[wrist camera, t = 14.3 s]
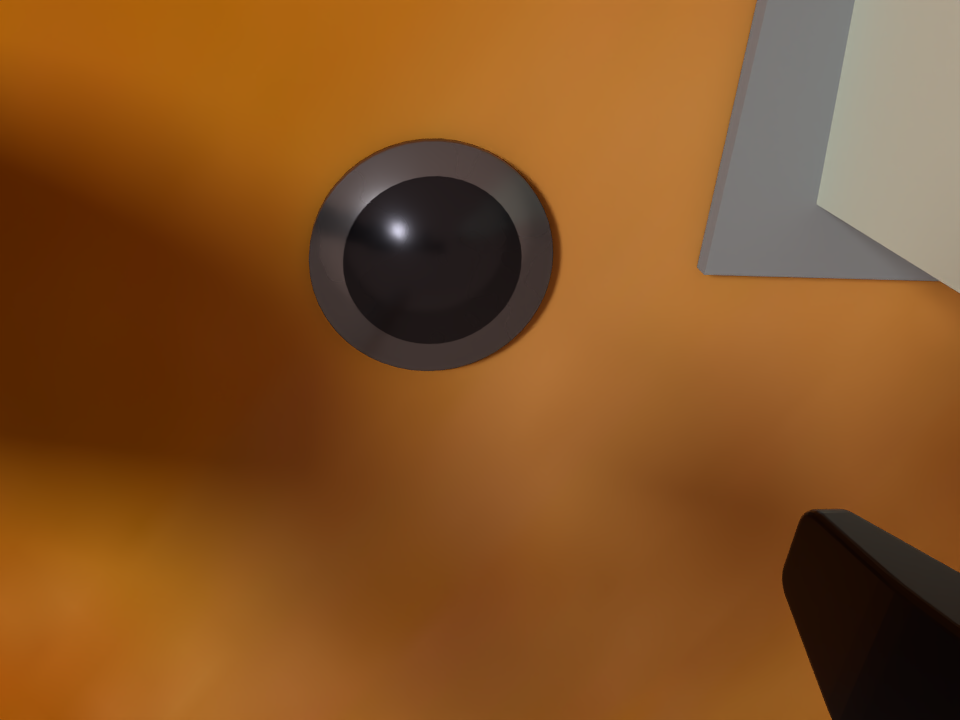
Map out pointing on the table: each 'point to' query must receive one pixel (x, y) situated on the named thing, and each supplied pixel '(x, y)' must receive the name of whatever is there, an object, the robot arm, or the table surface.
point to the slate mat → (788, 157)
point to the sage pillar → (900, 132)
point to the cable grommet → (430, 254)
